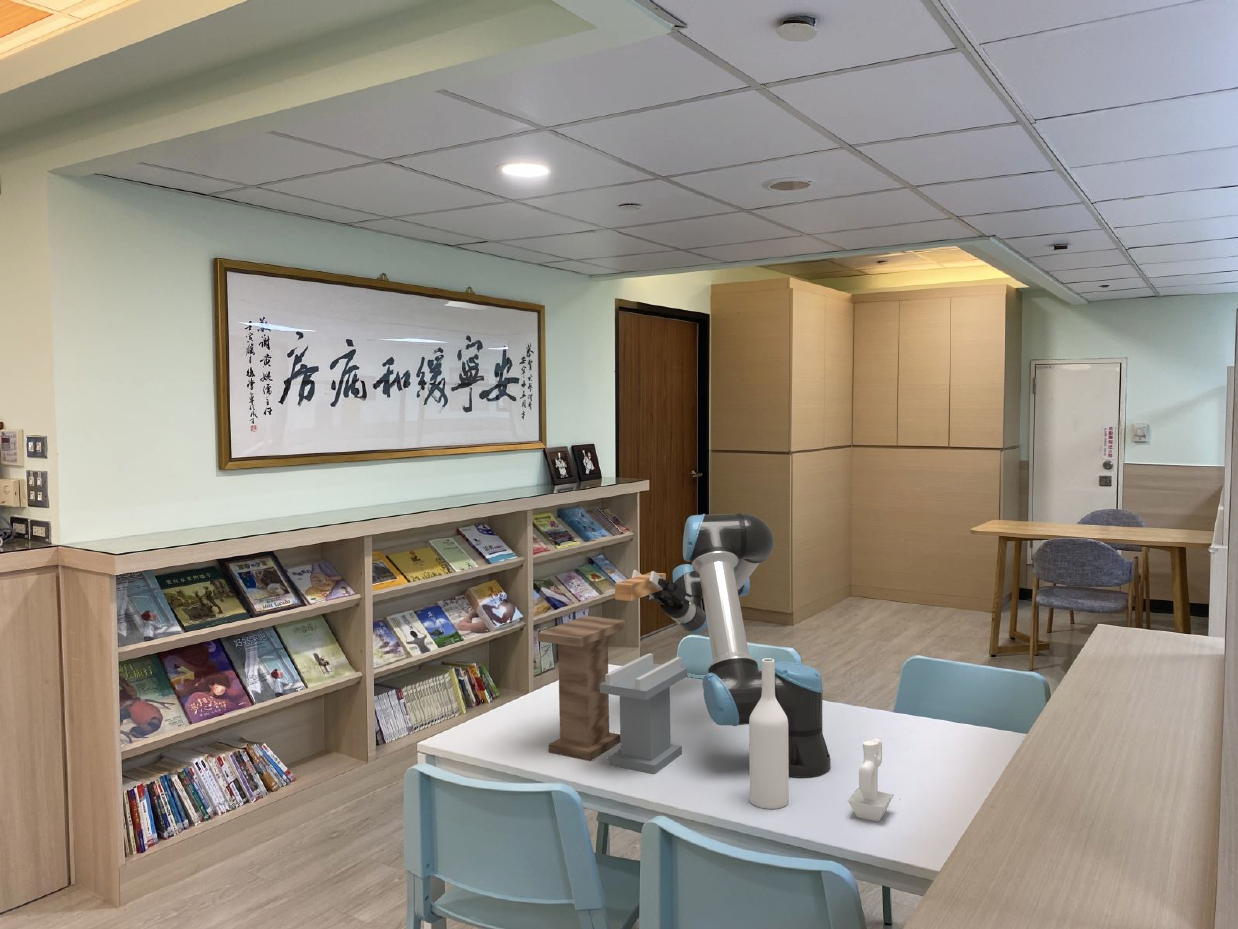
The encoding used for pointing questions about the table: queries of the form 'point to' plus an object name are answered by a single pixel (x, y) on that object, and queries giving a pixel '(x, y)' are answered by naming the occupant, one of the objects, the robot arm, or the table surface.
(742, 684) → the robot arm
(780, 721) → the bottle
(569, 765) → the table surface
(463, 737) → the table surface
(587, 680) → the tall stand
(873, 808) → the figurine
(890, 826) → the table surface
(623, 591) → the wooden grain block
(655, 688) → the cradle
